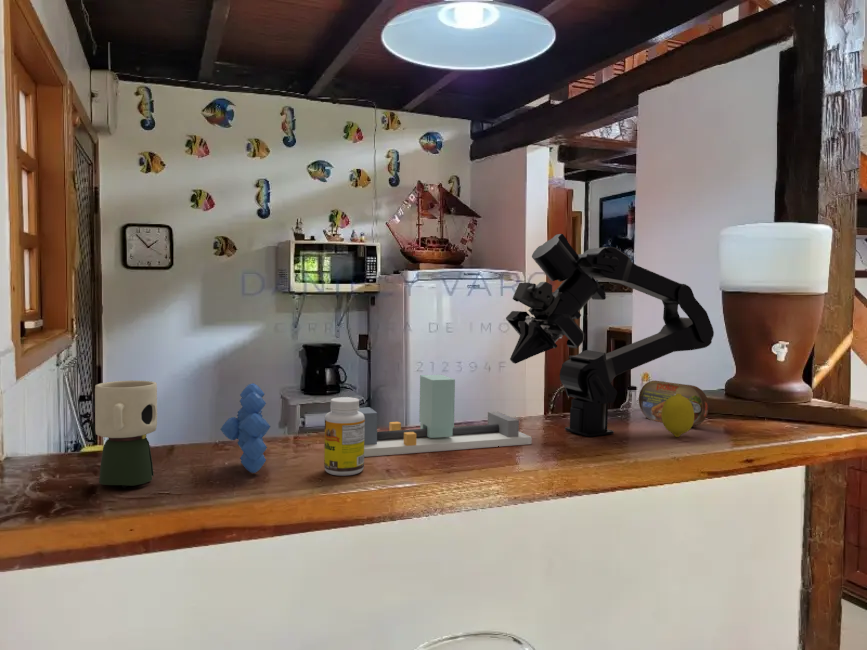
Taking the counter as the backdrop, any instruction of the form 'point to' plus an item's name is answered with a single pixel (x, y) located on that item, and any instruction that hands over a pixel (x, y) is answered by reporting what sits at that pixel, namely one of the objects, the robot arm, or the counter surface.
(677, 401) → the lemon
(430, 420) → the sleeve
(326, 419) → the supplement bottle
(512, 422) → the cord rig
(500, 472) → the counter surface
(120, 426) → the character mug
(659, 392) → the tin
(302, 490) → the counter surface
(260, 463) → the grapes
